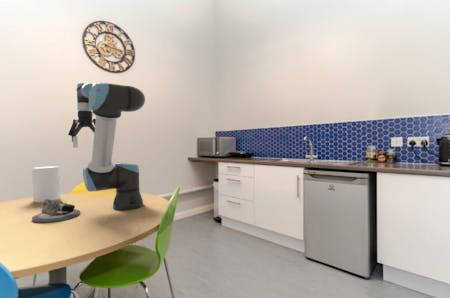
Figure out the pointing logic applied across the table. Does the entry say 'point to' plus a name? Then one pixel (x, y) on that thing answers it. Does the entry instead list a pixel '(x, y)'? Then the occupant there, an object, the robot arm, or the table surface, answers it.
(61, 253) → the table surface
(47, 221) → the carrier plate
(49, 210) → the caster wheel
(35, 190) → the canister
